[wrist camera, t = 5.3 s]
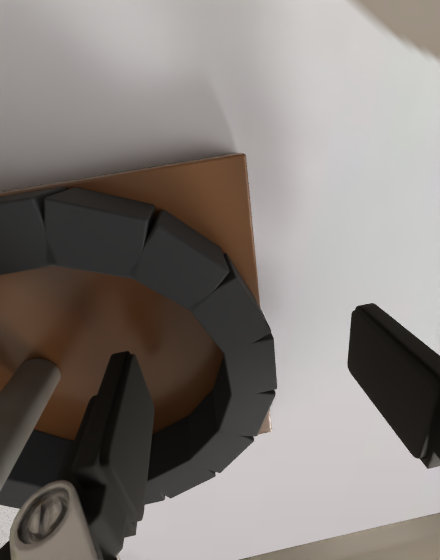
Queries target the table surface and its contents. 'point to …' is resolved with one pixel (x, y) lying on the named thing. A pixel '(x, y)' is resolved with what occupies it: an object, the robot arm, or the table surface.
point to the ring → (173, 285)
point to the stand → (118, 311)
